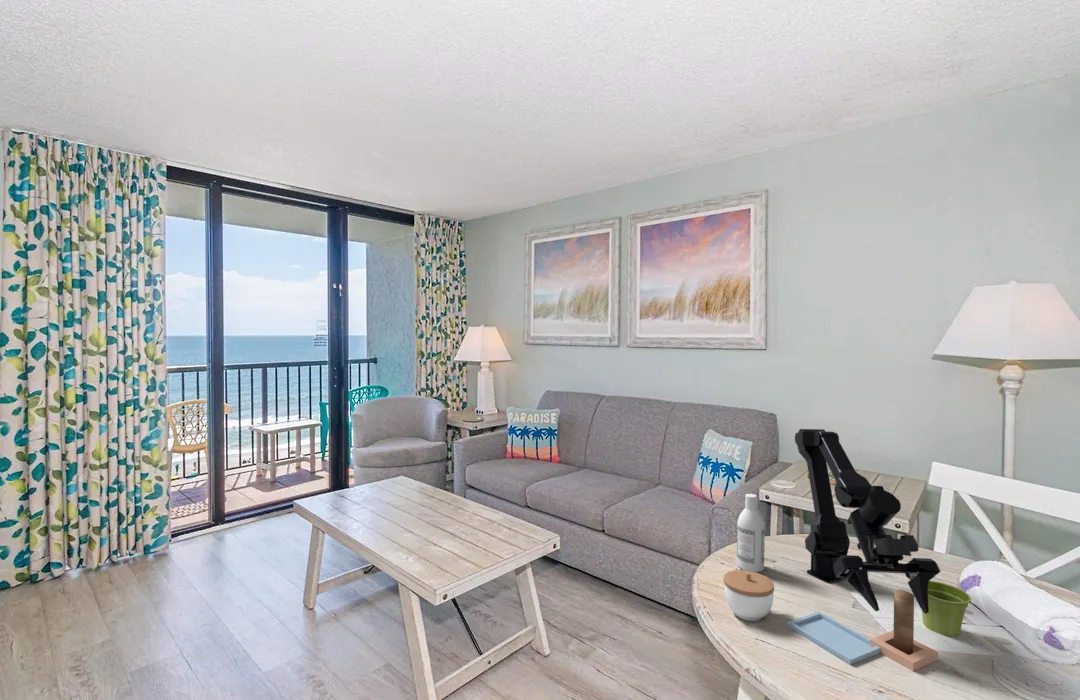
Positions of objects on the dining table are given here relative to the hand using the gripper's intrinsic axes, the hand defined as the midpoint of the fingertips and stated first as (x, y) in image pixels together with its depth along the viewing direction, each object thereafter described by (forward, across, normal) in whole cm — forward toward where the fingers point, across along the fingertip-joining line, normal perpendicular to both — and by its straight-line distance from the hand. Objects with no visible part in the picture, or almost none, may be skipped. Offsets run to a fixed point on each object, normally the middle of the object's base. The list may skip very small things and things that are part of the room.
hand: (901, 611), depth 100 cm
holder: (+6, 0, +6) cm, 9 cm away
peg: (+6, 0, +5) cm, 8 cm away
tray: (+4, -11, +8) cm, 15 cm away
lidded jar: (-2, -26, +15) cm, 30 cm away
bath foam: (-20, -18, +32) cm, 41 cm away
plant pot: (-1, +14, +13) cm, 19 cm away
